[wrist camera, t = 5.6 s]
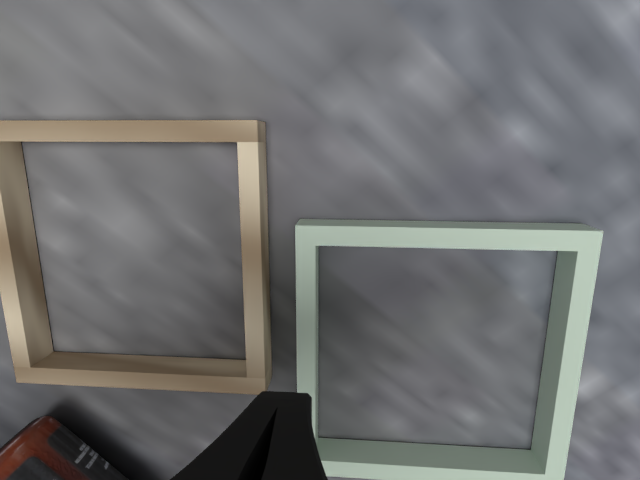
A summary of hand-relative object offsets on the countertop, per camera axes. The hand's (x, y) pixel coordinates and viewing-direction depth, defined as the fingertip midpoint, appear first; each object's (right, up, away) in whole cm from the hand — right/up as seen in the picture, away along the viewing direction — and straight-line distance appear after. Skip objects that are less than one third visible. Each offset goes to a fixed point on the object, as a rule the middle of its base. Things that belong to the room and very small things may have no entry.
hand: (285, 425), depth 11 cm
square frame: (+6, 0, +8) cm, 10 cm away
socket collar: (-7, +4, +8) cm, 11 cm away
